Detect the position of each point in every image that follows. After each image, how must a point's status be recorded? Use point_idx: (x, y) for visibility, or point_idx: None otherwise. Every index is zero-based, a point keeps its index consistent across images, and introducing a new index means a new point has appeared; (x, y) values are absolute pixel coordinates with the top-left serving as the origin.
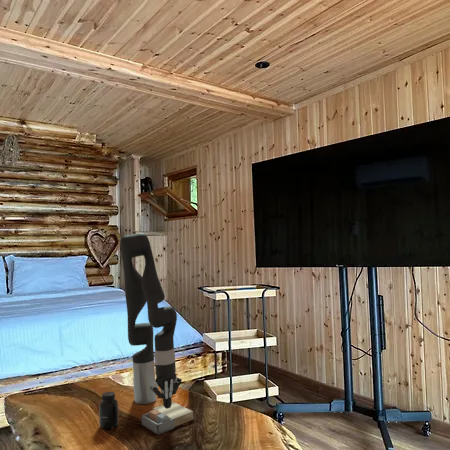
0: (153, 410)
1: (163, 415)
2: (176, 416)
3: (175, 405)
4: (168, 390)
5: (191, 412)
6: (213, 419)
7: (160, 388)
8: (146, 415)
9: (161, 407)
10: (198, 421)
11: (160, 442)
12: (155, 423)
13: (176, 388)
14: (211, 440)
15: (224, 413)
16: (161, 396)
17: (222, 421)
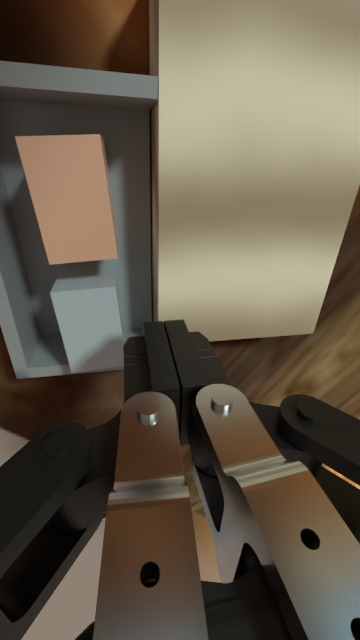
0: (75, 146)
1: (103, 331)
2: (201, 326)
3: (347, 125)
4: (222, 544)
5: (300, 332)
6: (330, 368)
7: (100, 569)
8: (2, 88)
9: (243, 24)
10: (282, 343)
11: (16, 409)
12: (11, 352)
13: (351, 528)
14: (193, 482)
15: None
16: (54, 532)
17: (330, 401)
